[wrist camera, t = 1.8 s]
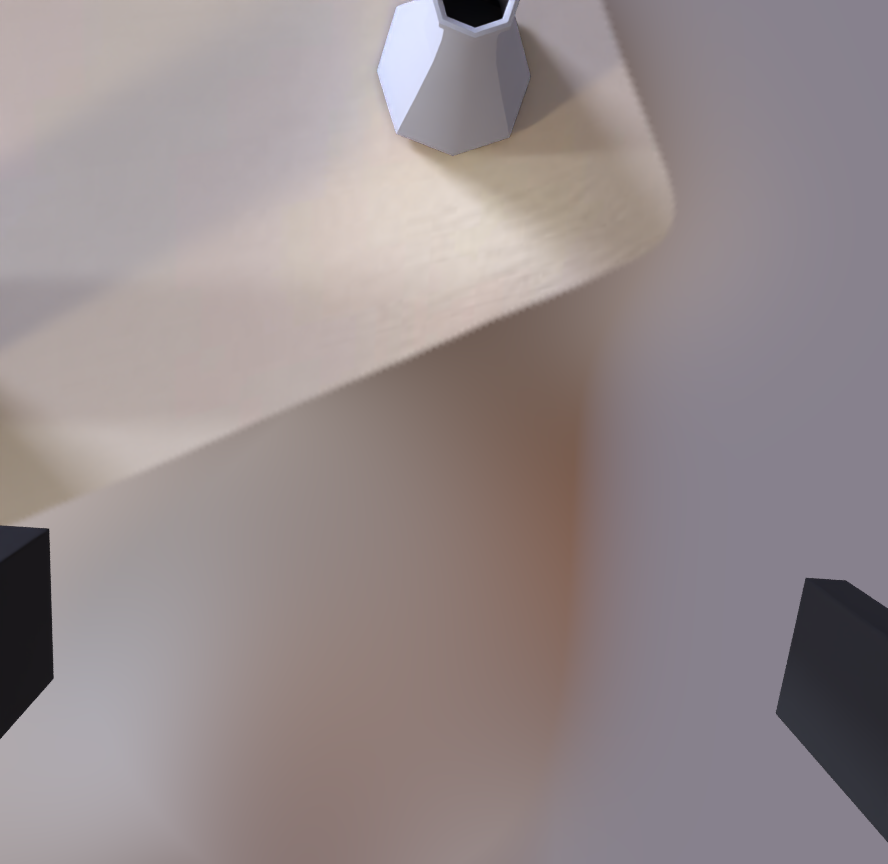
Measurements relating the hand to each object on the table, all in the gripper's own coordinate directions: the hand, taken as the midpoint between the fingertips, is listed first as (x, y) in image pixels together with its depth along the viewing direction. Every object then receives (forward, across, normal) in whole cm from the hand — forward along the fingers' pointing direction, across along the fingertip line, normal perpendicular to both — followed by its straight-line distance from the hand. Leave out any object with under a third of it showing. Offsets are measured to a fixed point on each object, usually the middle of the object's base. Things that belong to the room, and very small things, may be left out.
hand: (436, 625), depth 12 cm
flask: (+24, -1, -16) cm, 29 cm away
